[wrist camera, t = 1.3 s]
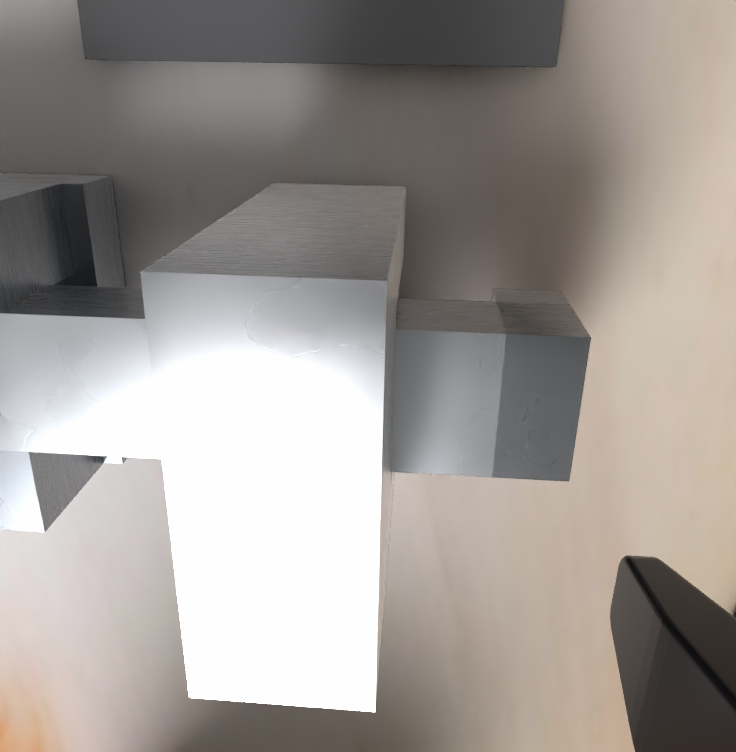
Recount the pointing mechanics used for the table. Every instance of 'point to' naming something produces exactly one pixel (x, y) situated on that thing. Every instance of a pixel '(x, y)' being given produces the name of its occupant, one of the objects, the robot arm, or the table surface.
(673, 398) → the table surface
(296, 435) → the brushed aluminum pillar
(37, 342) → the vise
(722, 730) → the robot arm
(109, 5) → the mat
